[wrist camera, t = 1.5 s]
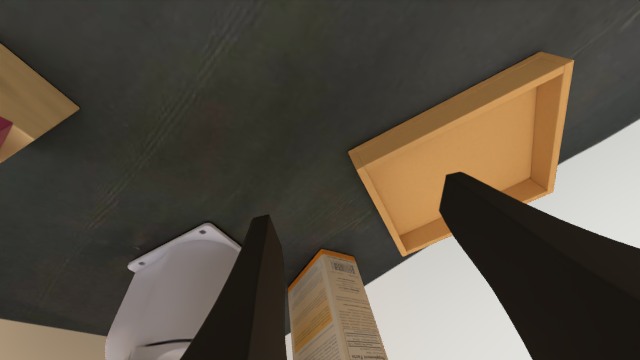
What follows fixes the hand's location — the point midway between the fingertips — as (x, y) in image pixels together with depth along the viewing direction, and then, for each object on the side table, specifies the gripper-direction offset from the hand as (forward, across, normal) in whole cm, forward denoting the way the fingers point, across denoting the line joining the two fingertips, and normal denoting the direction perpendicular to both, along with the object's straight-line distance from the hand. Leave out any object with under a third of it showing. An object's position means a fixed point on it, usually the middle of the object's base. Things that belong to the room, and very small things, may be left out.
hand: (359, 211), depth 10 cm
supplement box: (+10, +3, +20) cm, 22 cm away
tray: (+10, -11, +8) cm, 17 cm away
